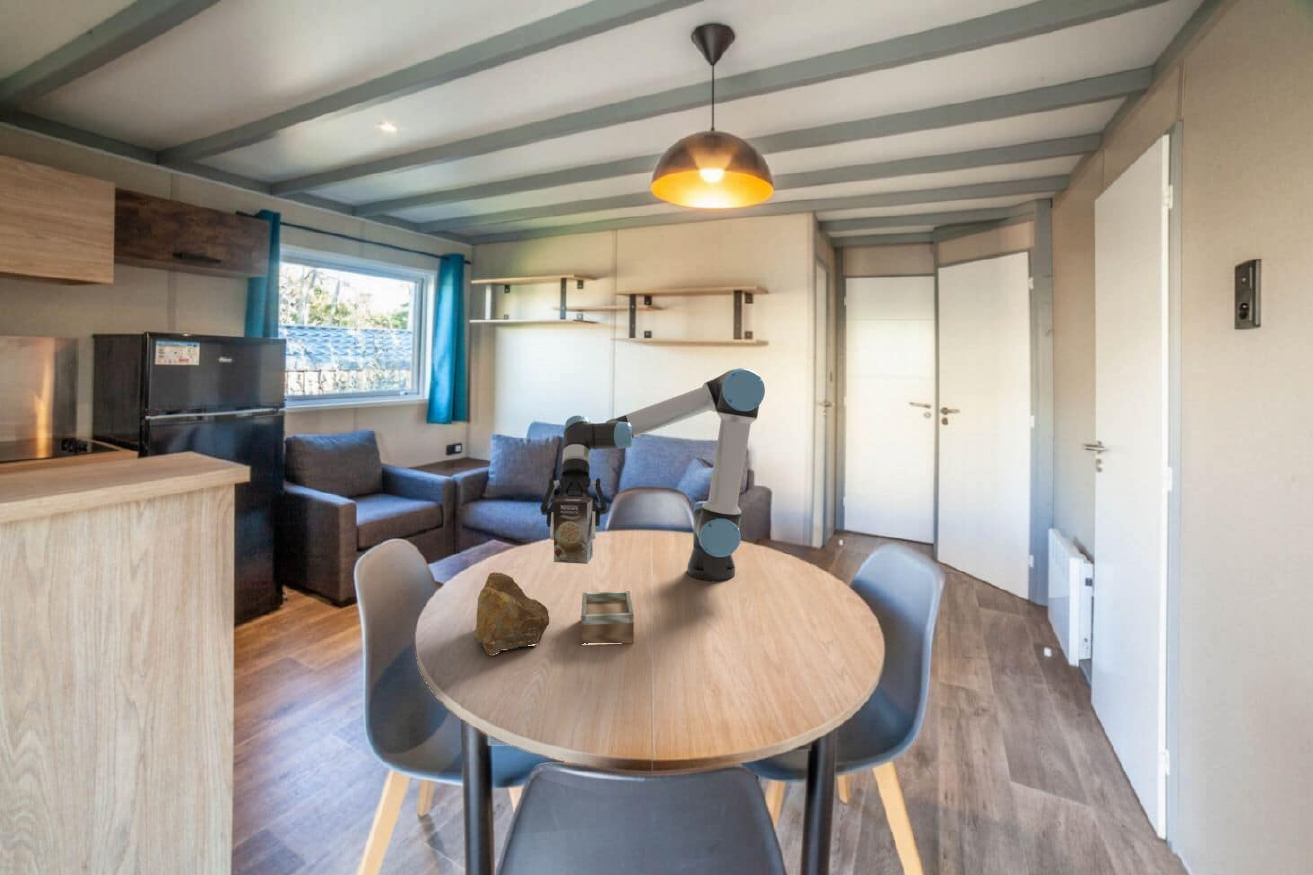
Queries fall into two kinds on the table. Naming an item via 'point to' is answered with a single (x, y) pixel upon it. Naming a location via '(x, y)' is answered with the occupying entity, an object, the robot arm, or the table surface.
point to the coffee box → (573, 529)
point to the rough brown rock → (508, 616)
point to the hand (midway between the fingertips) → (572, 536)
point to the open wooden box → (607, 617)
